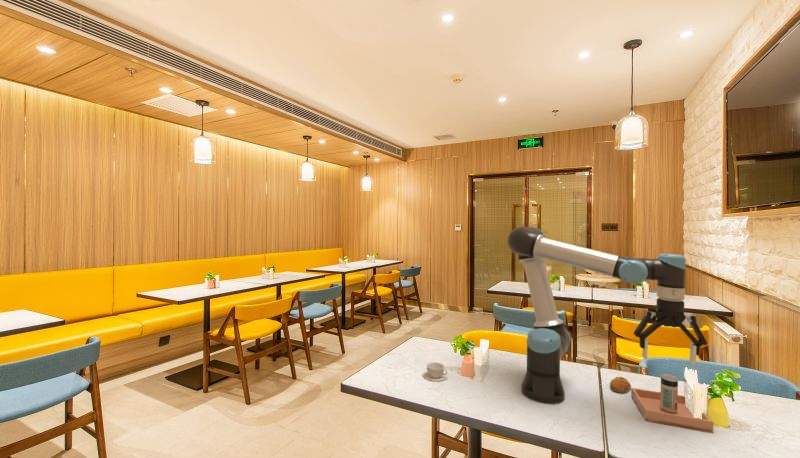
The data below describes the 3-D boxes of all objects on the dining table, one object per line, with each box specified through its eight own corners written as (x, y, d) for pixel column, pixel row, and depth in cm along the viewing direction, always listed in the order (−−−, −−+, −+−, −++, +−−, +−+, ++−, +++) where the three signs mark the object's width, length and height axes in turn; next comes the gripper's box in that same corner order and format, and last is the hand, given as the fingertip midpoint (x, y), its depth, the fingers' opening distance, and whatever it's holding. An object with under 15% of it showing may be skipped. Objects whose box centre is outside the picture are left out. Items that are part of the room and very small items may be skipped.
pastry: (627, 396, 131) (627, 386, 131) (606, 390, 136) (606, 381, 136) (631, 388, 138) (631, 378, 138) (612, 383, 142) (612, 374, 142)
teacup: (420, 379, 142) (420, 368, 142) (427, 370, 152) (427, 359, 152) (443, 383, 139) (444, 372, 139) (450, 374, 148) (450, 363, 148)
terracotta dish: (645, 421, 114) (645, 410, 114) (631, 397, 130) (631, 387, 130) (712, 433, 107) (713, 421, 107) (688, 406, 124) (688, 396, 124)
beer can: (673, 408, 120) (674, 373, 120) (679, 415, 116) (680, 379, 116) (657, 405, 122) (658, 371, 122) (662, 412, 117) (663, 377, 117)
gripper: (630, 297, 120) (628, 358, 120) (721, 305, 111) (719, 371, 111) (625, 293, 127) (623, 351, 127) (710, 300, 118) (708, 362, 118)
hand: (668, 360), depth 119 cm, fingers open, 13 cm apart
